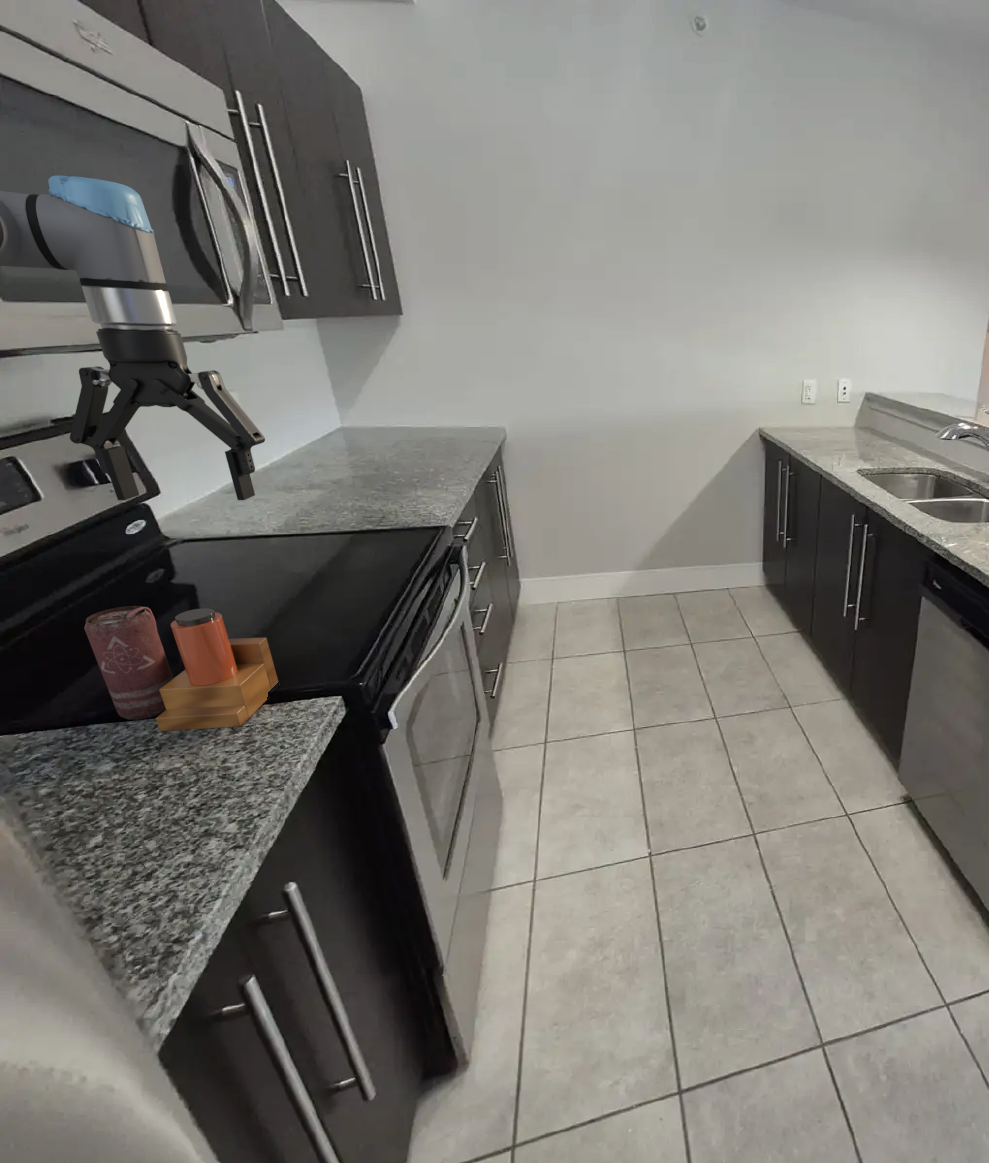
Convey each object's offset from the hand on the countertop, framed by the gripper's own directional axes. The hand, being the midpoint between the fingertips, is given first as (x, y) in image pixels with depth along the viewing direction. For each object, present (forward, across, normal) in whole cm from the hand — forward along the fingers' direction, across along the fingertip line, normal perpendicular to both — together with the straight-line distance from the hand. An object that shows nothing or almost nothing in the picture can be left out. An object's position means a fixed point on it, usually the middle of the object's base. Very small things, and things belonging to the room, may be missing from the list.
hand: (188, 498), depth 85 cm
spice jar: (+22, -3, +10) cm, 24 cm away
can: (+27, +6, +9) cm, 29 cm away
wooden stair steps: (+27, -3, +10) cm, 29 cm away
